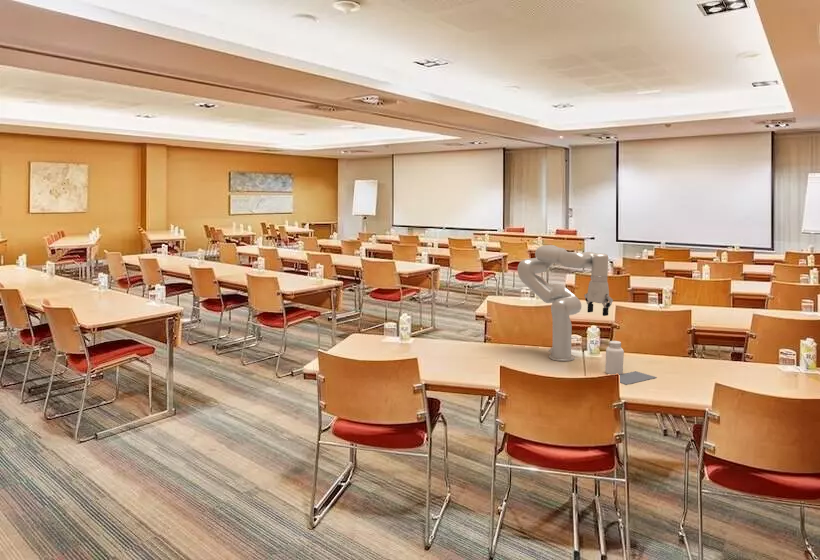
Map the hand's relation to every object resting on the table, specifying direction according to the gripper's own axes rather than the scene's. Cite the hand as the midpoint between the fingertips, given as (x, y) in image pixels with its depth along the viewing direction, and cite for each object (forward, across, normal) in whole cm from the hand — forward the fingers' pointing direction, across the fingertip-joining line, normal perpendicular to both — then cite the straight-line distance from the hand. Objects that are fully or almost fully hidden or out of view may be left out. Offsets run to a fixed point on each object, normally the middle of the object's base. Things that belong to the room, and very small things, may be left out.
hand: (597, 313), depth 287 cm
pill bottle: (+26, +13, -2) cm, 29 cm away
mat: (+26, +23, -2) cm, 35 cm away
